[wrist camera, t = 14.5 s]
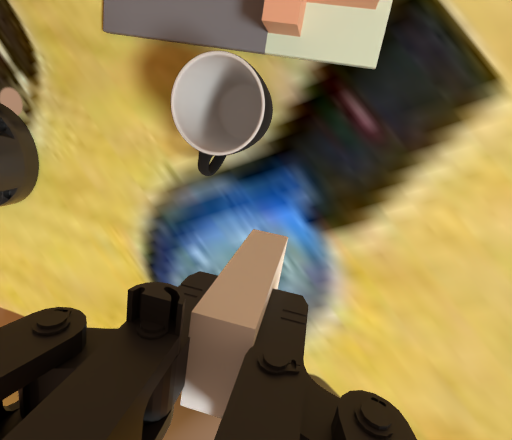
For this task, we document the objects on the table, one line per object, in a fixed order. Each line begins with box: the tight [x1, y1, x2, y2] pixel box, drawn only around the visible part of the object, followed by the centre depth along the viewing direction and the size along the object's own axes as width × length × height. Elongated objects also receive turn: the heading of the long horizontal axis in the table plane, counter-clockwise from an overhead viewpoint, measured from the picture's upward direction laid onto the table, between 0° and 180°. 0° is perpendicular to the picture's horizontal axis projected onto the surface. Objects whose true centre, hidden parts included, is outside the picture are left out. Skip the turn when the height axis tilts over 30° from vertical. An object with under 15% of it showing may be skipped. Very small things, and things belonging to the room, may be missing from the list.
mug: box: [171, 51, 273, 176], centre depth 34 cm, size 12×9×10 cm
